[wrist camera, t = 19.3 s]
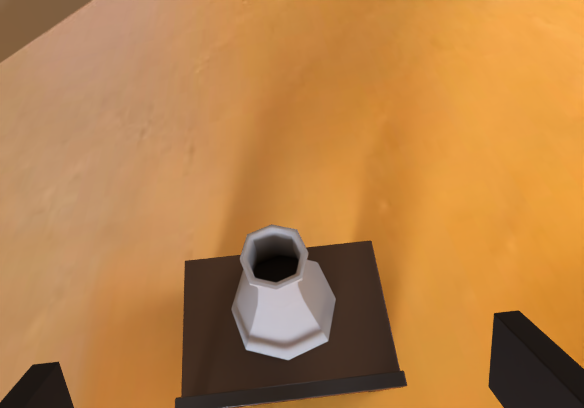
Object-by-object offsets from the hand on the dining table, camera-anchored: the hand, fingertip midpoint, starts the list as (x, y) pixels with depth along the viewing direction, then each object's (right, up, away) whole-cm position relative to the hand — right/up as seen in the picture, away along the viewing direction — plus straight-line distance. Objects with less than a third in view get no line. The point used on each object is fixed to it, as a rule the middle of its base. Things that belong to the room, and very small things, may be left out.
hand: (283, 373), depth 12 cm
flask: (0, -2, +15) cm, 15 cm away
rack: (0, -6, +21) cm, 21 cm away
